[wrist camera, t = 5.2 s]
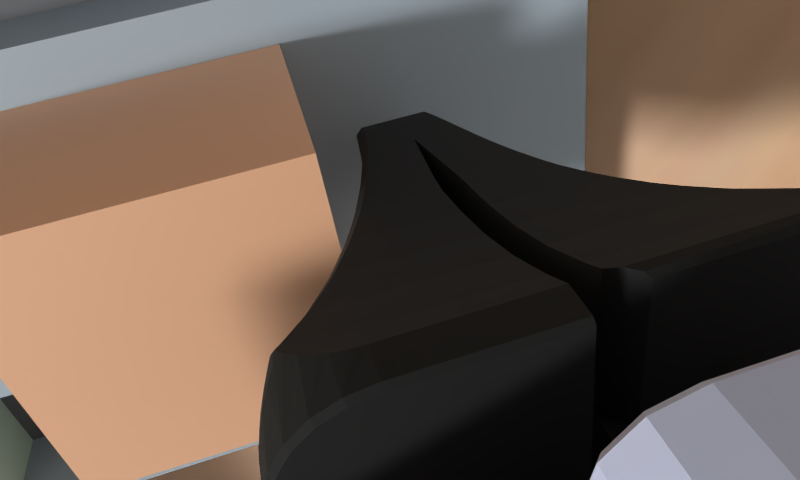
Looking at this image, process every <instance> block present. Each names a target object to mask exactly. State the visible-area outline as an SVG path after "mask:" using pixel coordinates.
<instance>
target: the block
mask: <svg viewBox="0 0 800 480" xmlns="http://www.w3.org/2000/svg"><path fill="white" fill-rule="evenodd" d="M341 252H342V251H341V247H340V244H339V240H338V236H337V232H336V228H335V225H334V221H333V217H332V213H331V209H330V206H329V202H328V198H327V194H326V190H325V186H324V183H323V179H322V175H321V171H320V167H319V164H318V160H317V156H316V152H315V149H314V146H313V143H312V140H311V137H310V134H309V131H308V129H307V126H306V123H305V120H304V117H303V114H302V111H301V108H300V105H299V102H298V99H297V96H296V93H295V90H294V87H293V84H292V81H291V78H290V75H289V72H288V69H287V66H286V63H285V60H284V57H283V54H282V51H281V48H280V45H279V44H277V45H273V46H269V47H265V48H260V49H256V50H252V51H248V52H244V53H240V54H236V55H231V56H227V57H223V58H219V59H215V60H211V61H206V62H202V63H198V64H194V65H190V66H186V67H182V68H177V69H173V70H169V71H165V72H161V73H157V74H153V75H148V76H144V77H140V78H136V79H132V80H128V81H123V82H119V83H115V84H111V85H107V86H103V87H99V88H94V89H90V90H86V91H82V92H78V93H74V94H70V95H65V96H61V97H57V98H53V99H49V100H45V101H41V102H36V103H32V104H28V105H24V106H20V107H16V108H11V109H7V110H3V111H0V379H1V380H2V381H3V382H4V384H5V385H6V386H7V388H8V389H9V390H10V391H11V393H12V394H13V395H14V397H15V398H16V399H17V400H18V402H19V403H20V404H21V405H22V407H23V408H24V409H25V411H26V412H27V413H28V414H29V416H30V417H31V418H32V420H33V421H34V422H35V423H36V425H37V426H38V427H39V429H40V430H41V431H42V432H43V434H44V435H45V436H46V438H47V439H48V440H49V441H50V443H51V444H52V445H53V447H54V448H55V449H56V450H57V452H58V453H59V454H60V455H61V457H62V458H63V459H64V461H65V462H66V463H67V464H68V466H69V467H70V468H71V470H72V471H73V472H74V473H75V475H76V476H77V477H78V479H79V480H136V479H139V478H142V477H146V476H149V475H152V474H155V473H158V472H162V471H165V470H168V469H171V468H174V467H178V466H181V465H184V464H187V463H190V462H194V461H197V460H200V459H203V458H206V457H210V456H213V455H216V454H219V453H222V452H226V451H229V450H232V449H235V448H239V447H242V446H245V445H248V444H251V443H255V442H258V441H259V426H260V413H261V405H262V398H263V390H264V384H265V379H266V373H267V368H268V363H269V358H270V355H271V354H272V352H273V351H274V350H275V349H276V348H277V347H278V346H279V345H280V344H281V343H282V341H283V340H284V339H285V338H286V337H287V336H288V335H289V333H290V332H291V331H292V330H293V329H294V328H295V327H296V325H297V324H298V323H299V322H300V321H301V320H302V319H303V317H304V316H305V315H306V313H307V312H308V310H309V309H310V307H311V306H312V304H313V303H314V301H315V299H316V298H317V296H318V295H319V293H320V292H321V290H322V289H323V287H324V285H325V284H326V282H327V280H328V279H329V277H330V275H331V273H332V271H333V269H334V267H335V265H336V263H337V261H338V258H339V256H340V254H341Z"/></svg>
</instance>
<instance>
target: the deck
mask: <svg viewBox="0 0 800 480" xmlns="http://www.w3.org/2000/svg"><path fill="white" fill-rule="evenodd" d="M587 13H588V0H0V111H3V110H7V109H11V108H16V107H20V106H24V105H28V104H32V103H36V102H41V101H45V100H49V99H53V98H57V97H61V96H65V95H70V94H74V93H78V92H82V91H86V90H90V89H94V88H99V87H103V86H107V85H111V84H115V83H119V82H123V81H128V80H132V79H136V78H140V77H144V76H148V75H153V74H157V73H161V72H165V71H169V70H173V69H177V68H182V67H186V66H190V65H194V64H198V63H202V62H206V61H211V60H215V59H219V58H223V57H227V56H231V55H236V54H240V53H244V52H248V51H252V50H256V49H260V48H265V47H269V46H273V45H277V44H279V45H280V48H281V51H282V54H283V57H284V60H285V63H286V66H287V69H288V72H289V75H290V78H291V81H292V84H293V87H294V90H295V93H296V96H297V99H298V102H299V105H300V108H301V111H302V114H303V117H304V120H305V123H306V126H307V129H308V131H309V134H310V137H311V140H312V143H313V146H314V149H315V152H316V156H317V160H318V164H319V167H320V171H321V175H322V179H323V183H324V186H325V190H326V194H327V198H328V202H329V206H330V209H331V213H332V217H333V221H334V225H335V228H336V232H337V236H338V240H339V244H340V247H341V251H342V250H343V247H344V245H345V242H346V239H347V237H348V234H349V231H350V228H351V225H352V222H353V218H354V214H355V210H356V205H357V201H358V196H359V191H360V185H361V173H362V159H361V155H360V150H359V145H358V141H357V136H356V135H357V134H358V132H359V131H360V129H361V128H363V127H367V126H370V125H374V124H378V123H382V122H386V121H389V120H393V119H397V118H401V117H405V116H409V115H412V114H416V113H420V112H427V113H430V114H432V115H435V116H437V117H439V118H441V119H444V120H446V121H448V122H450V123H452V124H454V125H457V126H459V127H461V128H463V129H465V130H467V131H470V132H472V133H474V134H476V135H479V136H481V137H483V138H486V139H488V140H490V141H493V142H495V143H498V144H500V145H503V146H505V147H508V148H510V149H513V150H516V151H518V152H521V153H524V154H527V155H530V156H533V157H536V158H539V159H542V160H545V161H548V162H552V163H555V164H558V165H562V166H566V167H571V168H575V169H579V170H583V171H585V124H586V68H587ZM257 444H259V441H258V442H255V443H251V444H248V445H245V446H242V447H239V448H235V449H232V450H229V451H226V452H222V453H219V454H216V455H213V456H210V457H206V458H203V459H200V460H197V461H194V462H190V463H187V464H184V465H181V466H178V467H174V468H171V469H168V470H165V471H162V472H158V473H155V474H152V475H149V476H146V477H142V478H139V479H136V480H147V479H150V478H153V477H157V476H160V475H163V474H166V473H169V472H172V471H175V470H179V469H182V468H185V467H188V466H191V465H194V464H197V463H201V462H204V461H207V460H210V459H213V458H216V457H219V456H223V455H226V454H229V453H232V452H235V451H238V450H241V449H245V448H248V447H251V446H254V445H257ZM0 480H79V479H78V477H77V476H76V475H75V473H74V472H73V471H72V470H71V468H70V467H69V466H68V464H67V463H66V462H65V461H64V459H63V458H62V457H61V455H60V454H59V453H58V452H57V450H56V449H55V448H54V447H53V445H52V444H51V443H50V441H49V440H48V439H47V438H46V436H45V435H44V434H43V432H42V431H41V430H40V429H39V427H38V426H37V425H36V423H35V422H34V421H33V420H32V418H31V417H30V416H29V414H28V413H27V412H26V411H25V409H24V408H23V407H22V405H21V404H20V403H19V402H18V400H17V399H16V398H15V397H14V395H13V394H12V393H11V391H10V390H9V389H8V388H7V386H6V385H5V384H4V382H3V381H2V380H1V379H0Z"/></svg>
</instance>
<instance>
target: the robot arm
mask: <svg viewBox="0 0 800 480" xmlns="http://www.w3.org/2000/svg"><path fill="white" fill-rule="evenodd" d="M356 136H357V141H358V145H359V150H360V155H361V159H362V173H361V185H360V191H359V196H358V201H357V205H356V210H355V214H354V218H353V222H352V225H351V228H350V231H349V234H348V237H347V239H346V242H345V245H344V247H343V250H342V252H341V254H340V256H339V258H338V261H337V263H336V265H335V267H334V269H333V271H332V273H331V275H330V277H329V279H328V280H327V282H326V284H325V285H324V287H323V289H322V290H321V292H320V293H319V295H318V296H317V298H316V299H315V301H314V303H313V304H312V306H311V307H310V309H309V310H308V312H307V313H306V315H305V316H304V317H303V319H302V320H301V321H300V322H299V323H298V324H297V325H296V327H295V328H294V329H293V330H292V331H291V332H290V333H289V335H288V336H287V337H286V338H285V339H284V340H283V341H282V343H281V344H280V345H279V346H278V347H277V348H276V349H275V350H274V351H273V352H272V354H271V355H270V358H269V363H268V368H267V373H266V379H265V384H264V390H263V398H262V405H261V413H260V426H259V464H260V474H261V480H800V188H781V189H727V188H709V187H693V186H679V185H669V184H659V183H650V182H643V181H637V180H630V179H623V178H617V177H611V176H606V175H601V174H595V173H591V172H587V171H583V170H579V169H575V168H571V167H566V166H562V165H558V164H555V163H552V162H548V161H545V160H542V159H539V158H536V157H533V156H530V155H527V154H524V153H521V152H518V151H516V150H513V149H510V148H508V147H505V146H503V145H500V144H498V143H495V142H493V141H490V140H488V139H486V138H483V137H481V136H479V135H476V134H474V133H472V132H470V131H467V130H465V129H463V128H461V127H459V126H457V125H454V124H452V123H450V122H448V121H446V120H444V119H441V118H439V117H437V116H435V115H432V114H430V113H427V112H420V113H416V114H412V115H409V116H405V117H401V118H397V119H393V120H389V121H386V122H382V123H378V124H374V125H370V126H367V127H363V128H361V129H360V131H359V132H358V134H357V135H356Z"/></svg>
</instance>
